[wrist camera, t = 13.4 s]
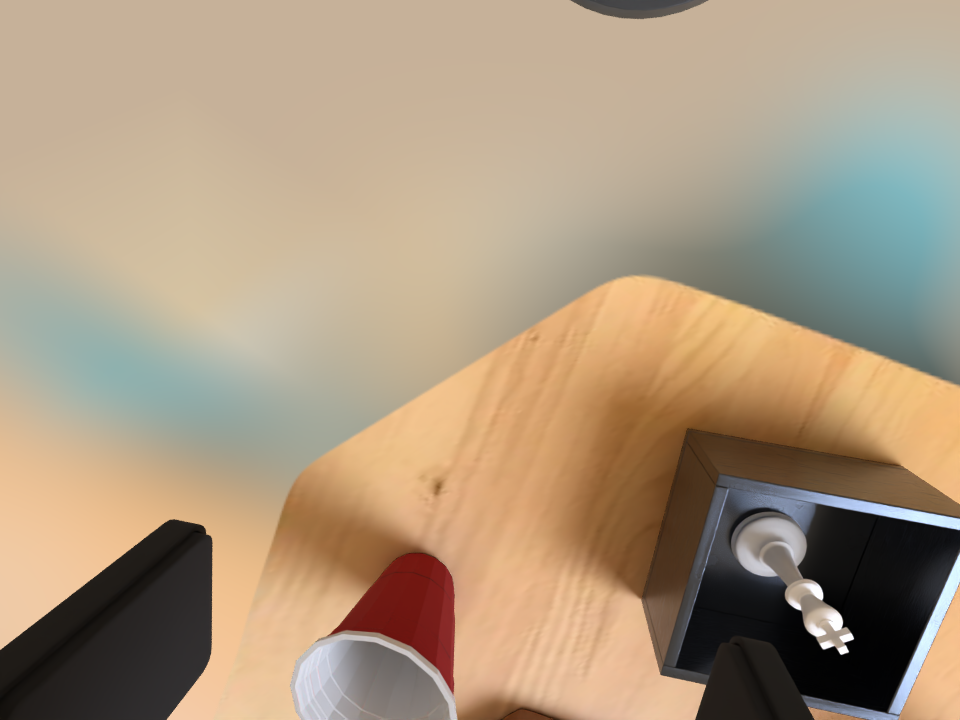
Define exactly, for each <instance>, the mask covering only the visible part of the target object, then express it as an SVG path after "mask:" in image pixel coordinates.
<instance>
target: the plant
mask: <svg viewBox="0 0 960 720" xmlns="http://www.w3.org/2000/svg"><path fill="white" fill-rule="evenodd" d="M502 720H553V719H551V718H548V717H546V716H543V715H540V714H537V713H534V712H531V711H528V710H524V709H519V710H517V711H515V712H513V713H512V714H510V715H508V716H507V717H505V718H503V719H502Z"/></svg>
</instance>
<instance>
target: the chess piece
mask: <svg viewBox="0 0 960 720" xmlns="http://www.w3.org/2000/svg"><path fill="white" fill-rule="evenodd" d="M731 548H732V552H733V554H734V556H735V558H736V559H737V560H738V561H739V562H740V564H741V565H742V566H743V567H744V568H745V569H747V570H748V571H750V572H752V573H754V574H756V575H760V576H767V577H772V576H779V577H780V578H781V579H782V580H783V582H784V583H785V584H786V585H787V586H788V587H787V589H786V591H785V598H786V600H787V602H788V603H789V604H790V605H791V606H793V607H794V608H796V609H798V610H801V611H802V614H803V621H804V625H805V627H806V629H807V631H808V632H809V633H811V634H812V635H814V636H817V637H816V638H817V640H818V642H819V644H820V646H821V647H822V649H826V648H829V647H832V646H835V647H836V648H837V650H838V651H839V653H840V654H841V655H842V654H845V653H848V652H849V651H848V649H847V647H846V645H845V644H844V642H847V641H850V640H853V639H854V638H853V636H852V634H851V632H850V631H849V629H848V628H847V627H845V628H842V625H843V620H842V617H841V615H840V614H839V612H838V611H837V610H835V609H834V608H832V607H831V606H829V605H827V604H826V603H824V602H823V601H822V599H823V592H822V589H821V587H820V586H819V584H817V583H816V582H815V581H812V580H809V579H803V577H802V576H801V574H800V572H799V570H798V568H797V566H798V565H799V564H800V563H801V561H802V560H803V558H804V556H805V553H806V549H807V542H806V538H805V535H804V533H803V532H802V530H801V528H800V526H799V525H798V524H797V522H796V521H794V520H793V519H792V518H790V517H789V516H787V515H784V514H781V513H778V512H761V513H757V514H754V515H751V516H749V517H747V518H746V519H744V520H743V521H742V522H741V523H740V524H739V525H738V526H737V527H736V529H735V530H734V532H733V535H732V539H731ZM841 628H842V629H841Z"/></svg>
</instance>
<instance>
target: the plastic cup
mask: <svg viewBox="0 0 960 720" xmlns="http://www.w3.org/2000/svg"><path fill="white" fill-rule="evenodd" d="M454 596H455V595H454V586H453V581H452V576H451V575H450V573H449V571H448V569H447V568H446V566H445V565H443V564H442V563H441V562H440V561H439V560H437V559H436V558H434V557H431V556H429V555H426V554H423V553H409V554H406V555H403V556H401V557H398V558H397V559H396V560H395V561H393V562H392V563H391V564H390V565H389V566H388V567H387V568H386V569H385V571H384V572H383V573H382V575H381V576H380V577H379V578H378V580H377V581H376V582H375V583H374V584H373V585H372V586H371V587H370V588H369V589H368V591H367V592H366V593H365V594H364V596H363V597H362V598H361V599H360V600H359V602H358V603H357V604H356V605H355V607H354V608H353V609H352V610H351V612H350V613H349V614H348V615H347V616H346V618H345V619H344V620H343V621H342V623H341V624H340V625H339V626H338V627H337V628H336V629H335V630H334V631H333V632H332V633H331V634H330V635H328V636H326V637H323V638H320V639H318V640H317V641H316V642H315V643H314V644H313V645H312V646H311V647H310V648H309V649H308V650H307V651H306V652H305V653H304V654H303V655H302V656H301V657H300V658H299V659H298V660H297V661H296V664H295V668H294V672H293V676H292V680H291V684H290V687H291V691H292V696H293V701H294V705H295V710H296V713H297V714H298V716H299V717H300V719H301V720H457V714H456V705H455V697H454V693H453V692H454V678H453V666H454V637H455V615H454Z"/></svg>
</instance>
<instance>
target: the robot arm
mask: <svg viewBox="0 0 960 720" xmlns="http://www.w3.org/2000/svg"><path fill="white" fill-rule="evenodd" d="M211 640H212V538H211V536H209V535H206V530H205V528H204V526H202V525H199V524H194V523H189V522H184V521H179V520H175V519H174V520H169V521H167V522H165V523H164V524H163V525H161V526H160V527H159V528H158V529H156V530H155V531H154V532H152V533H151V534H150V535H148V536H147V537H146V538H144V539H143V540H142V541H141V542H140V543H138V544H137V545H135V546H134V547H133V548H132V549H130V550H129V551H128V552H126V553H125V554H124V555H123V556H121V557H120V558H119V559H117V560H116V561H115V562H113V563H112V564H111V565H110V566H108V567H107V568H106V569H104V570H103V571H102V572H101V573H99V574H98V575H97V576H95V577H94V578H93V579H91V580H90V581H89V582H88V583H86V584H85V585H84V586H83V587H81V588H80V589H79V590H77V591H76V592H75V593H73V594H72V595H71V596H69V597H68V598H67V599H66V600H64V601H63V602H62V603H60V604H59V605H58V606H57V607H55V608H54V609H53V610H51V611H50V612H49V613H48V614H46V615H45V616H44V617H42V618H41V619H40V620H39V621H37V622H36V623H35V624H33V625H32V626H31V627H29V628H28V629H27V630H26V631H24V632H23V633H22V634H20V635H19V636H18V637H16V638H15V639H14V640H13V641H11V642H10V643H9V644H8V645H6V646H5V647H4V648H2V649H1V650H0V720H167V718H168V717H169V716H170V714H171V713H172V712H173V710H174V709H175V708H176V707H177V705H178V704H179V703H180V701H181V700H182V699H183V698H184V696H185V695H186V693H187V692H188V691H189V690H190V688H191V687H192V686H193V685H194V683H195V682H196V681H197V679H198V678H199V677H200V676H201V674H202V673H203V671H204V670H205V668H206V666H207V664H208V661H209V659H210V655H211V645H212V644H211V643H212V641H211ZM695 720H814V718H813V716H812V714H811V713H810V711H809V709H808V707H807V705H806V703H805V702H804V700H803V698H802V696H801V694H800V692H799V691H798V689H797V687H796V685H795V683H794V681H793V680H792V678H791V676H790V674H789V672H788V670H787V669H786V667H785V665H784V663H783V661H782V659H781V658H780V656H779V654H778V652H777V650H776V649H775V647H774V646H773V645H772V644H770V643H769V642H764V641H759V640H754V639H749V638H745V637H740V636H734V637H733V638H731V640H730V642H729V643H721V644H720V646H719V648H718V651H717V654H716V657H715V660H714V663H713V666H712V670H711V673H710V676H709V679H708V682H707V685H706V688H705V691H704V694H703V697H702V700H701V704H700V707H699V710H698V713H697V716H696V719H695Z"/></svg>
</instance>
